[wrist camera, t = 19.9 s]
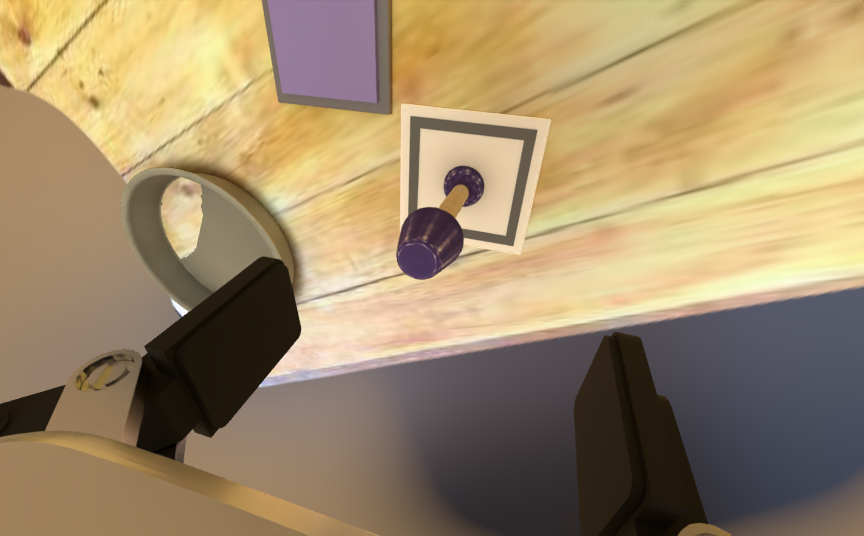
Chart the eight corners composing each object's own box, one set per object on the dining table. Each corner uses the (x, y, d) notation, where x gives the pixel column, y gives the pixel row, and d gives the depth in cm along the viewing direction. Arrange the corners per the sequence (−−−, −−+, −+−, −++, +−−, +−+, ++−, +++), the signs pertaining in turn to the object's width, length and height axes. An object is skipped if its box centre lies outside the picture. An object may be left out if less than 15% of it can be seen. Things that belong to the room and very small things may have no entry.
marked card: (551, 118, 31) (551, 119, 31) (521, 254, 39) (520, 255, 39) (401, 103, 34) (400, 103, 34) (400, 233, 42) (399, 234, 41)
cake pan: (279, 160, 41) (253, 172, 37) (322, 323, 54) (305, 344, 50) (118, 155, 47) (82, 164, 43) (192, 303, 60) (169, 320, 56)
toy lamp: (432, 177, 37) (369, 254, 23) (467, 149, 35) (420, 216, 21) (460, 212, 38) (416, 305, 24) (496, 188, 36) (469, 275, 22)
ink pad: (391, -49, 28) (384, -53, 27) (391, 113, 35) (386, 115, 34) (259, -52, 30) (248, -56, 29) (283, 101, 37) (275, 103, 36)
